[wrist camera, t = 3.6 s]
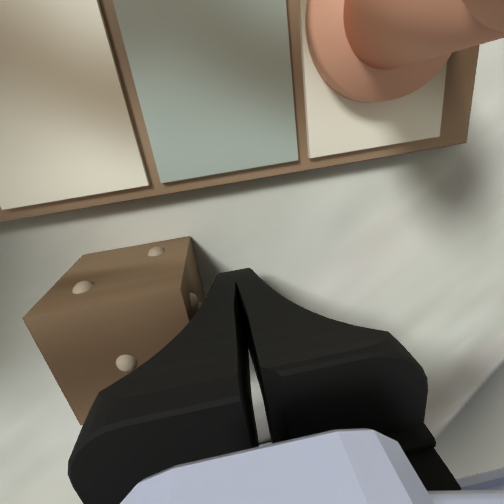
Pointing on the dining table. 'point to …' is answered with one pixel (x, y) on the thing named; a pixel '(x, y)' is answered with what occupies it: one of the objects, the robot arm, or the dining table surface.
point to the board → (187, 101)
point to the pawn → (393, 41)
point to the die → (114, 315)
